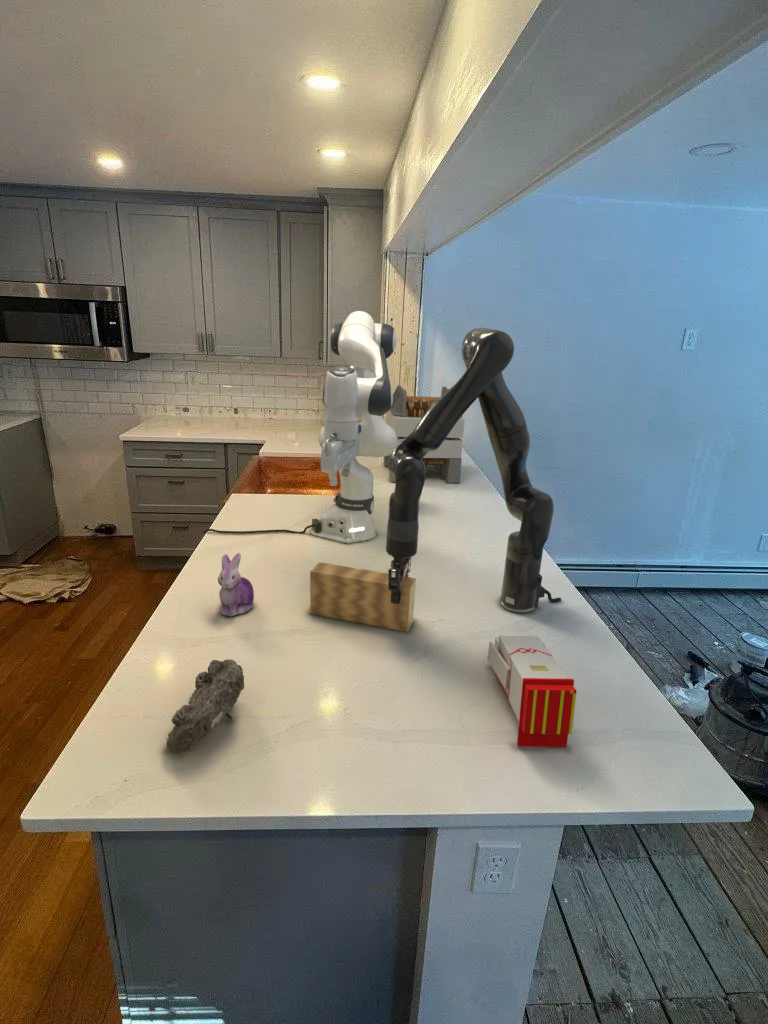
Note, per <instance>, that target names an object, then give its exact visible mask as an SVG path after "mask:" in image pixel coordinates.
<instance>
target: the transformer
mask: <svg viewBox="0 0 768 1024" xmlns="http://www.w3.org/2000/svg"><path fill="white" fill-rule="evenodd" d="M449 389H450V388H447V386H442V387H441V392H440V393H441V394H440V396H415V395H414V396H413V395H412V396H411V395H407V394H408V393H407V390H406V389H404V388H403V387H402V385H399V384H398V385H397V386H396V388H395V390H394V391H393V403H392V406H391V409H390V410H389V411H388V412H387V413H385V414H386V415H385V422H386V423H387V424H388V425H389V426H391V427H392V428H393V429H394V431H395V433H396V435H397V446H398V445H399V444H400V443H401V442H402V441H403V440H404V439H405V438H406V437H407V436H408V435H410V434H411V433H412V432H413V431H414V429H415V428H416V426H417V425H418V423H419V422H420V420H421V419H422V417H423V416H424V414H425V413H426V412H427V410H428V409H429V408H430V407H431V405H432V404H433V403H434V402H435V401H436V400H437V399H439V398H440V397H441V396H442V395H443V394H445V393H446V392H447V391H448V390H449ZM464 429H465V419H464V418H463V415H462V416H461V418H460V419H459V420H458V422H457V423H456V424H455V426H454V427H453V429H452V430H451V431H450V433H449V434H448V436H447V437H446V439H445V440H444V441H443V442H442V444H441V445H440V447H439V448H438V449H437V450H436V451H430V452H428V453H427V454H426V455H425V456H424V457H423V458H422V461H423V463H424V466H425V467H436V468H437V470H438V469H439V473H440V474H441V475H443V478H444V479H445V481H446V482H447V483H449V484H455V483H456V484H459V483H461V472H462V461H463V460H462V453H463V442H464V441H463V440H462V439H463V438H464V431H465V430H464ZM397 446H396V447H397ZM390 456H391V455H390ZM390 456H384V457H383V466H384V467H387V468H388V461H389V458H390ZM388 476H389V477H388V478H389V480H390V482H391V483H396V478H395V477H393V476H392V475H391V473H390V472H389V475H388Z"/></svg>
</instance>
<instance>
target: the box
mask: <svg viewBox="0 0 768 1024" xmlns="http://www.w3.org/2000/svg"><path fill="white" fill-rule="evenodd" d="M388 576H389V572H381V571H375V570H370V569H363V568H358V567H351V566H345V565H340V564H333V563H329V562H327V563H326V562H321V561H319V562H318V563H316V565H315V566H313V567H312V569H311V570H310V571H309V593H310V594H309V597H310V599H309V603H310V604H309V607H310V608H309V612H310V613H309V614H311V615H316V616H321V617H326V618H332V619H338V620H341V621H342V620H344V621H348V622H354V623H358V624H364V625H370V626H375V627H379V628H385V629H391V630H395V631H401V632H404V633H405V632H407V633H408V632H409V630H410V627H411V625H412V623H413V621H414V611H415V598H416V582H417V578H416V577H412V576H409V577H406V576H405V580H404V581H403V582H402V586H401V596H400V603H399V604H394V603H391V591H390V590H388ZM401 577H402V576H400V578H401ZM394 585H396V584H394Z"/></svg>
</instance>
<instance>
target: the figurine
mask: <svg viewBox="0 0 768 1024" xmlns="http://www.w3.org/2000/svg"><path fill="white" fill-rule="evenodd" d="M241 557H242V554H241V553H240V552H237V553H236V554H235V555H234V557H232V559H231V560H230V557H229V555H228V554H227V553H224V554H222V557H221V570H220V573H219V574H218V577H217V583H218V585H219V586H220V587H221V588H220V590H219V593H218V596H219V597H218V598H219V601H220V604H221V608H220V614H221V615H223V616H228V617H234V616H237V615H242V614H245V613H246V612H249V611H250V610H251V609H253V607H254V598H255V592H254V591H255V590H254V587H253V584H252V583H251V581H250V580H249V579H247V578H246V577H245V576H241V573H240V572H239V567H240V563H241V560H242V559H241Z"/></svg>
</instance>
